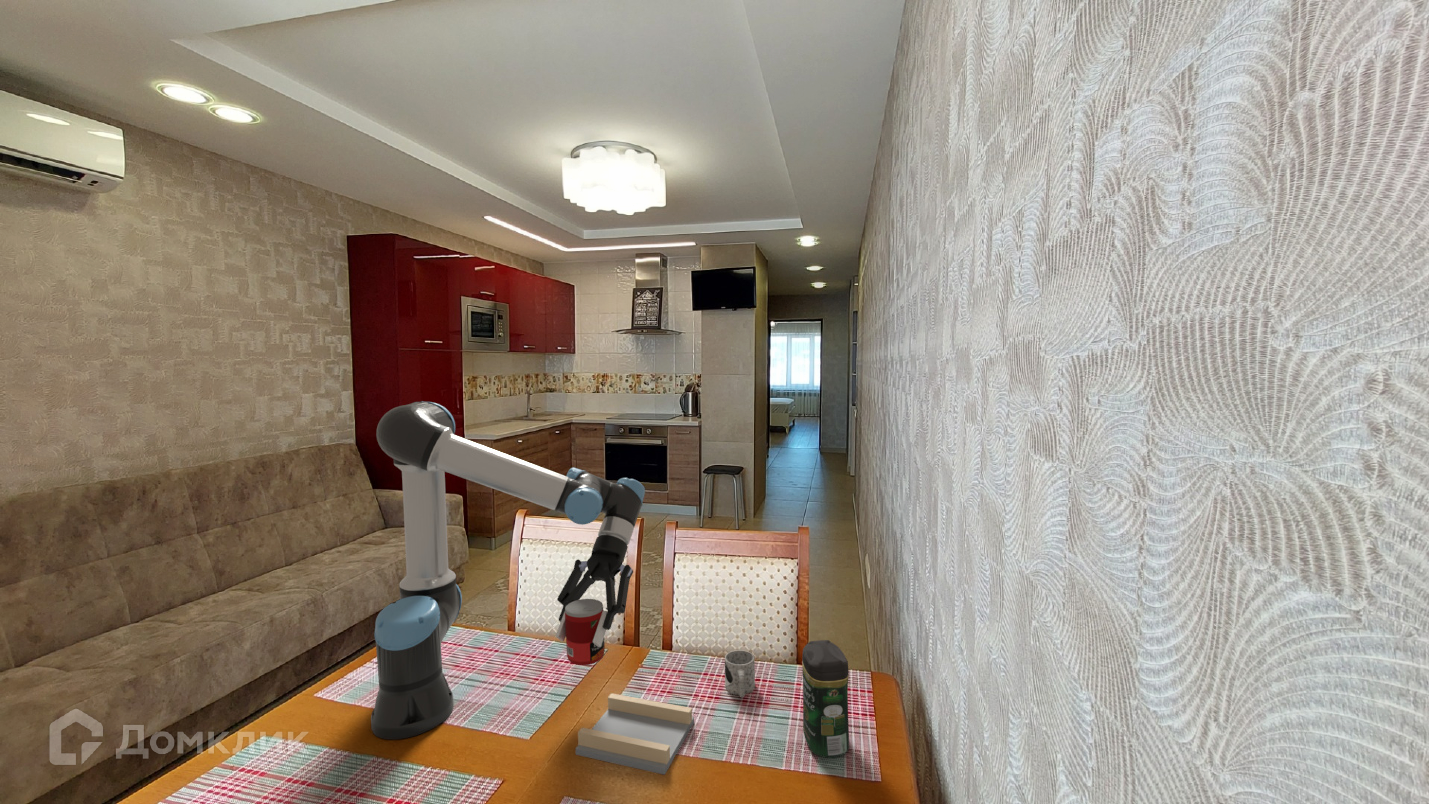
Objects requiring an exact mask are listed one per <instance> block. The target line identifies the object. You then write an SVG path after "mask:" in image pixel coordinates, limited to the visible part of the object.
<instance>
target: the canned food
mask: <svg viewBox="0 0 1429 804" xmlns="http://www.w3.org/2000/svg"><path fill="white" fill-rule="evenodd" d="M603 610H604V604H603V602H602V601H600V600H598V599H595V598H582V599H581V598H580V599H579V600H576V601H573V602H571V603H569V604H568V605H567V606H566V607H565V626H566V637H565V644H566V657H567V660H568V661H569V662H570V663H571V664H572V665H575V666H576V665H577V666H588V665H592V664H595V663H597V662H599V661H600V660H602V659H603V657H604V655H605V652H606V648H605V646H606V645H605V644H606V642H605V638H604V639H603V642H602V645H601V647H597V646H596V645H595V644H594V643H593V639H594V636H595V633H596V630H597V627H598V624H599V621H600V618H601V615H602V612H603Z"/></svg>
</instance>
